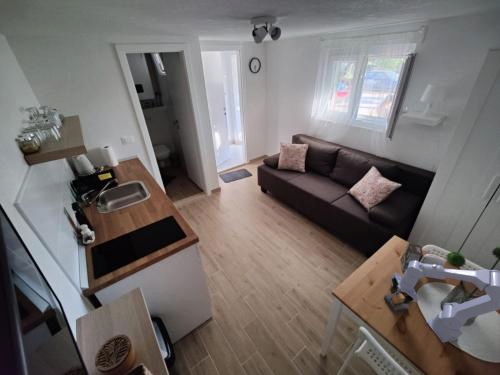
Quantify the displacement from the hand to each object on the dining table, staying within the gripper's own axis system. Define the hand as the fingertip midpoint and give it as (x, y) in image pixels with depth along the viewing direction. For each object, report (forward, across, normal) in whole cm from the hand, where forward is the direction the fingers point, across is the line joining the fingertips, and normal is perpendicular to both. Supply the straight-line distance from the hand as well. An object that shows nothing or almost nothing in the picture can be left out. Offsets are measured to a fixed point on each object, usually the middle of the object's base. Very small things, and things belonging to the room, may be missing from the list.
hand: (400, 295), depth 112 cm
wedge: (+8, 0, 0) cm, 8 cm away
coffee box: (+8, -20, +23) cm, 31 cm away
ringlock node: (+8, -5, +4) cm, 10 cm away
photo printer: (+8, -15, +34) cm, 38 cm away
